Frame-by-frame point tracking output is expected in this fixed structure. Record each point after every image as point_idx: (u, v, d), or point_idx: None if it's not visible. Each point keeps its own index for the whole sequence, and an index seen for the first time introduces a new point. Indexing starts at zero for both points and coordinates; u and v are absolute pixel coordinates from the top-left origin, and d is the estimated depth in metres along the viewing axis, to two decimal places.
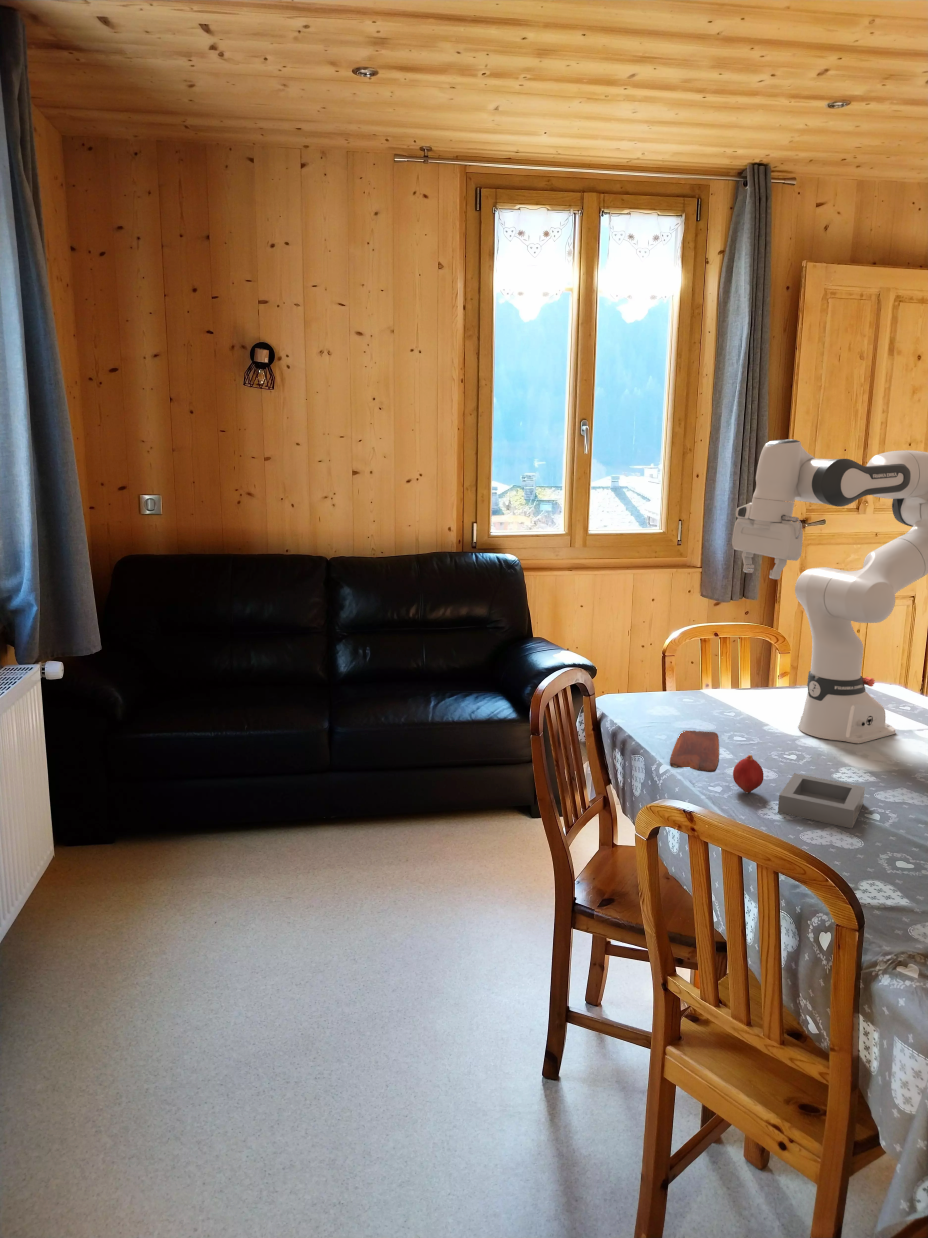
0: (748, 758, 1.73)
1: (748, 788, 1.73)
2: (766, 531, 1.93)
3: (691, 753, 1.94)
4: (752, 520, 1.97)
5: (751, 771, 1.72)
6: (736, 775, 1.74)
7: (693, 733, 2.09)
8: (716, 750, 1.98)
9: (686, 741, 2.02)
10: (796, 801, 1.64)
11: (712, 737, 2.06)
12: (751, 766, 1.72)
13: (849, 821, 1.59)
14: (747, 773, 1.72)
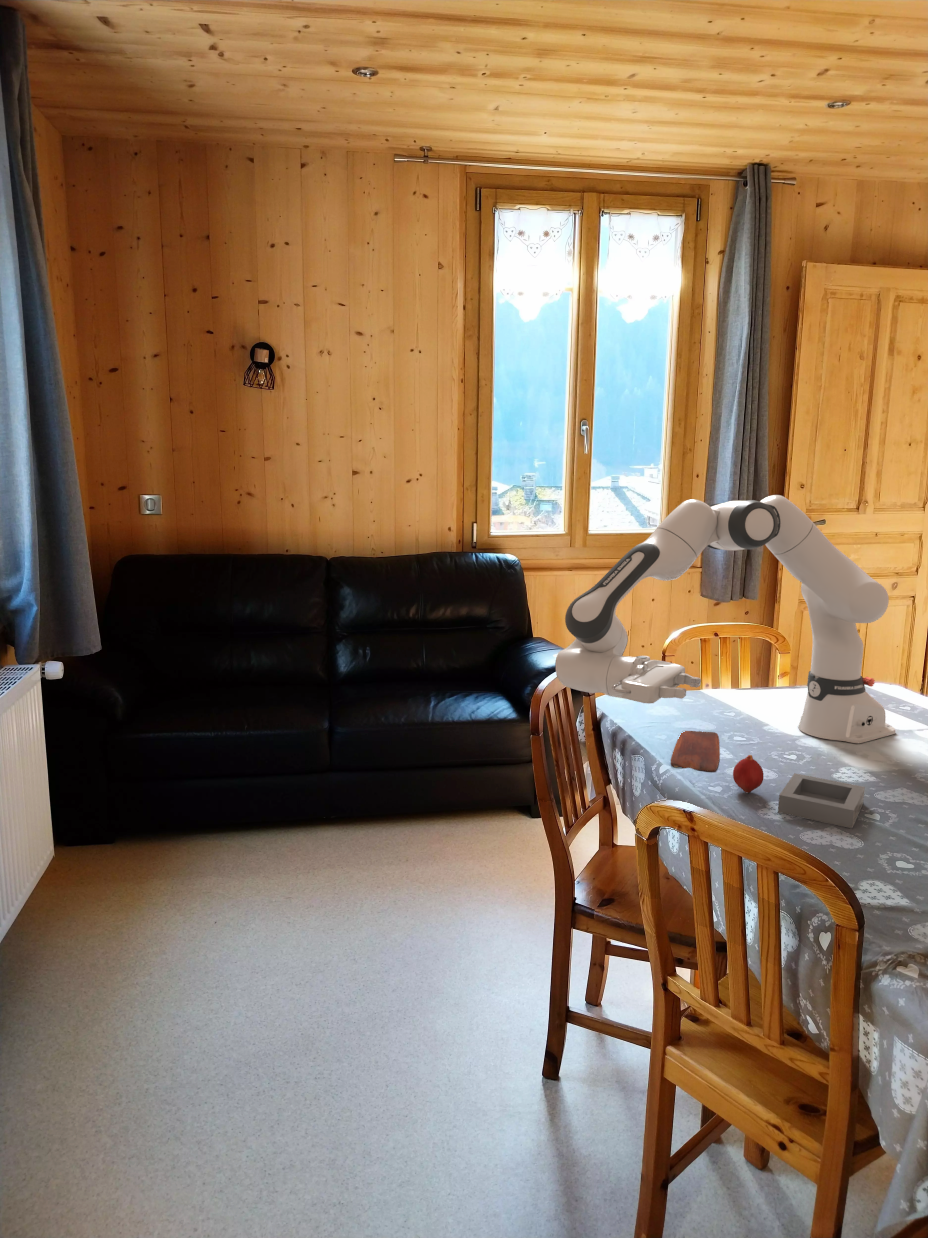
0: (748, 758, 1.73)
1: (748, 788, 1.73)
2: None
3: (692, 754, 1.94)
4: None
5: (751, 771, 1.72)
6: (736, 775, 1.74)
7: (693, 733, 2.09)
8: (717, 750, 1.97)
9: (687, 741, 2.02)
10: (796, 801, 1.64)
11: (712, 737, 2.06)
12: (751, 766, 1.72)
13: (849, 821, 1.59)
14: (747, 773, 1.72)
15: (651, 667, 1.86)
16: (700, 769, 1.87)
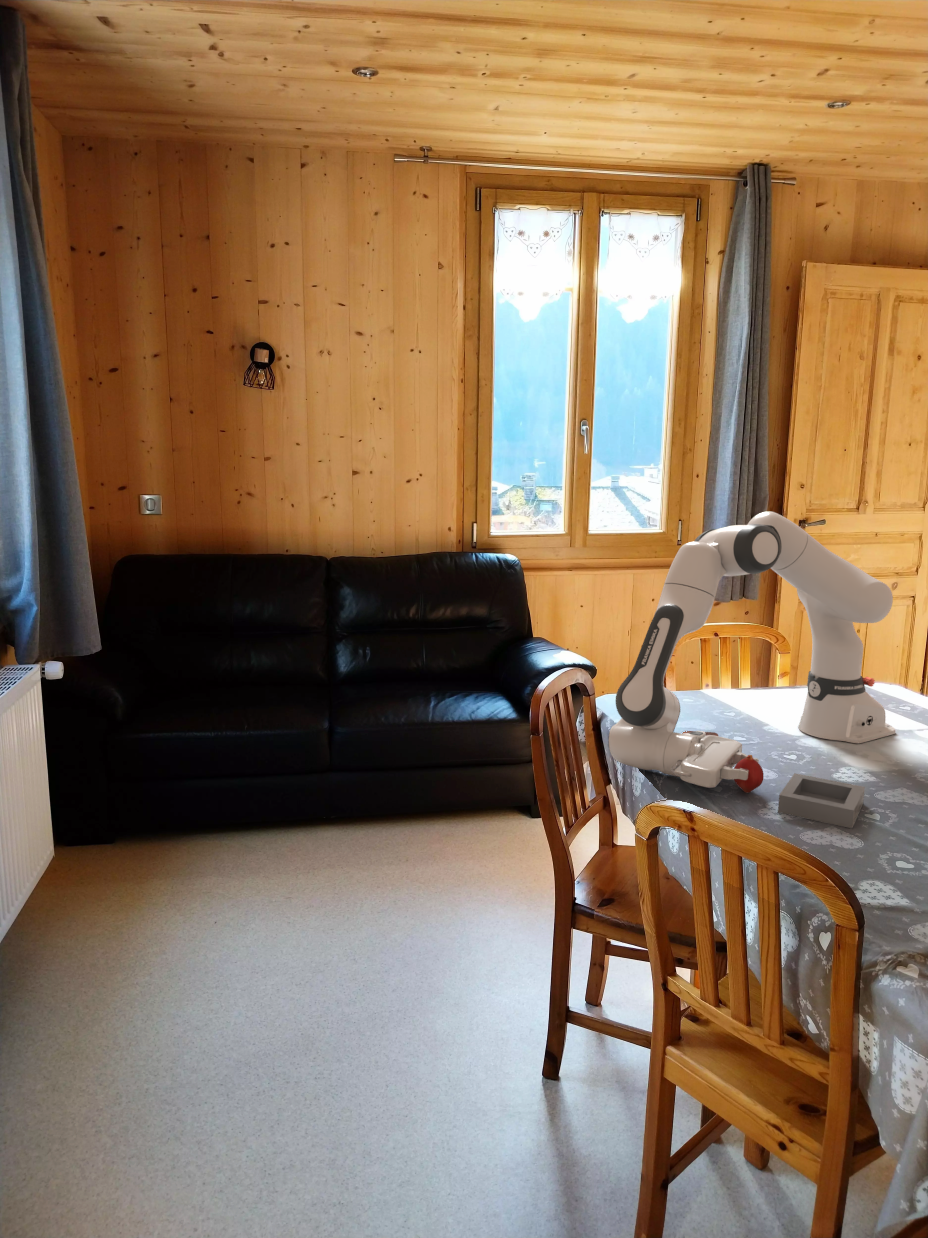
0: (748, 758, 1.73)
1: (748, 788, 1.73)
2: None
3: None
4: None
5: (751, 770, 1.72)
6: None
7: None
8: None
9: None
10: (796, 801, 1.64)
11: None
12: (751, 766, 1.72)
13: (849, 821, 1.59)
14: None
15: (708, 744, 1.82)
16: None
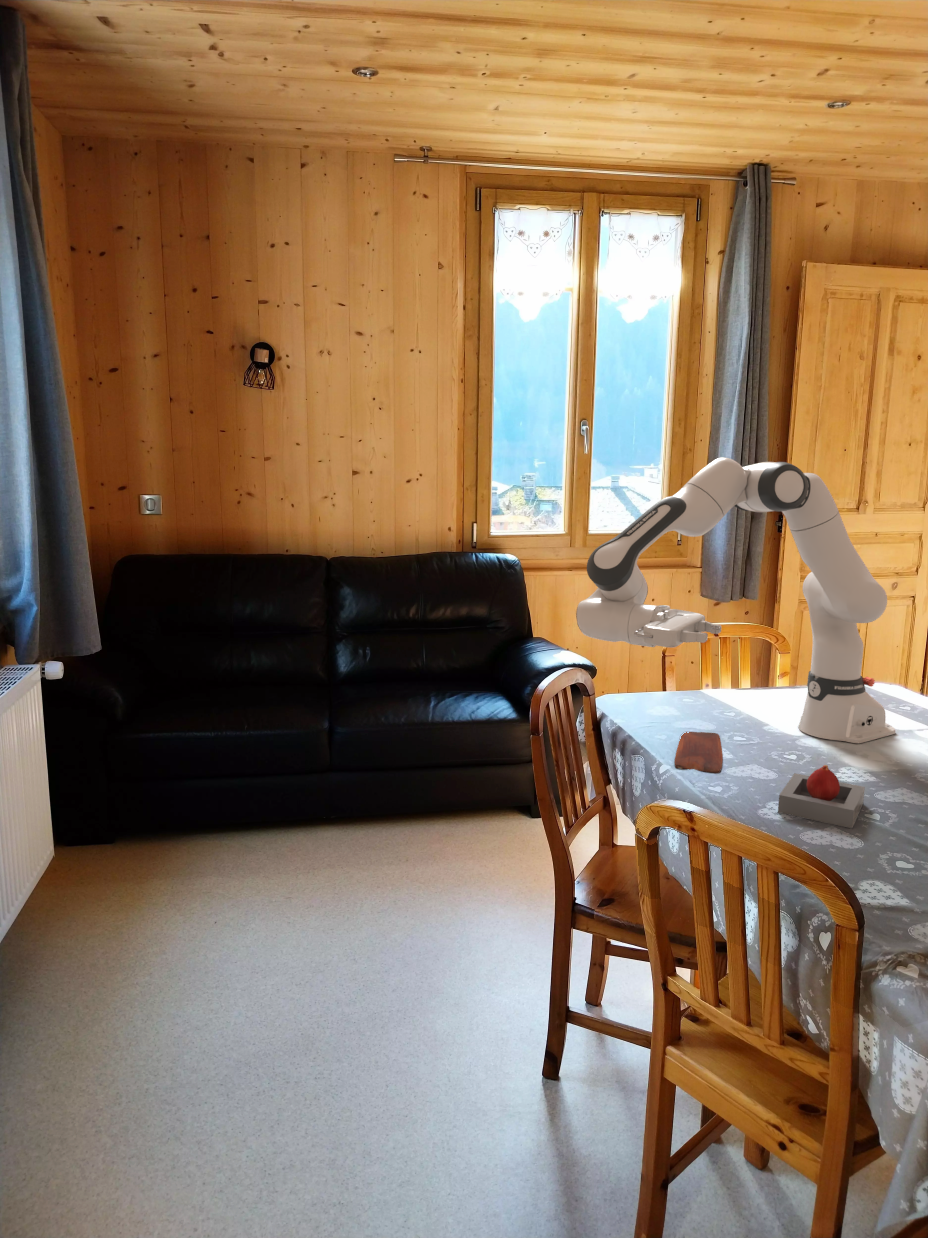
0: (824, 768, 1.66)
1: (824, 799, 1.65)
2: None
3: (695, 755, 1.93)
4: None
5: (828, 782, 1.65)
6: (811, 787, 1.66)
7: (695, 734, 2.08)
8: (719, 751, 1.97)
9: (689, 742, 2.01)
10: (796, 801, 1.64)
11: (714, 738, 2.06)
12: (827, 777, 1.65)
13: (849, 821, 1.59)
14: (824, 784, 1.65)
15: (671, 615, 1.88)
16: (704, 770, 1.86)
